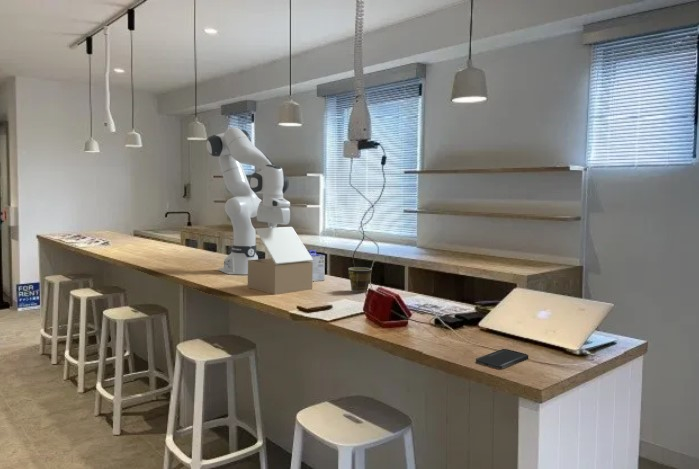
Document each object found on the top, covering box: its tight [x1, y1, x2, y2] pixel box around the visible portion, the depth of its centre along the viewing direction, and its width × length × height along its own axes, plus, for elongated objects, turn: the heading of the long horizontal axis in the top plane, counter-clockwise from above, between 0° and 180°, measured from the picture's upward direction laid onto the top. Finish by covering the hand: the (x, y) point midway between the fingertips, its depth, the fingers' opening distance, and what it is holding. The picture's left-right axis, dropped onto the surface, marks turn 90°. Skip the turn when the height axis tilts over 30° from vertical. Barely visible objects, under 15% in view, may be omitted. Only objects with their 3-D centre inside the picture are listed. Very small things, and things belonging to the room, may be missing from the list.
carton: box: [247, 257, 313, 295], centre depth 237 cm, size 20×20×12 cm
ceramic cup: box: [347, 266, 372, 294], centre depth 232 cm, size 13×10×10 cm
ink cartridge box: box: [308, 249, 326, 282], centre depth 259 cm, size 10×6×14 cm, turn 126°
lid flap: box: [255, 226, 313, 264], centre depth 234 cm, size 20×20×1 cm
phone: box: [475, 348, 529, 370], centre depth 144 cm, size 8×1×15 cm
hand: (272, 233), depth 239 cm, fingers closed
